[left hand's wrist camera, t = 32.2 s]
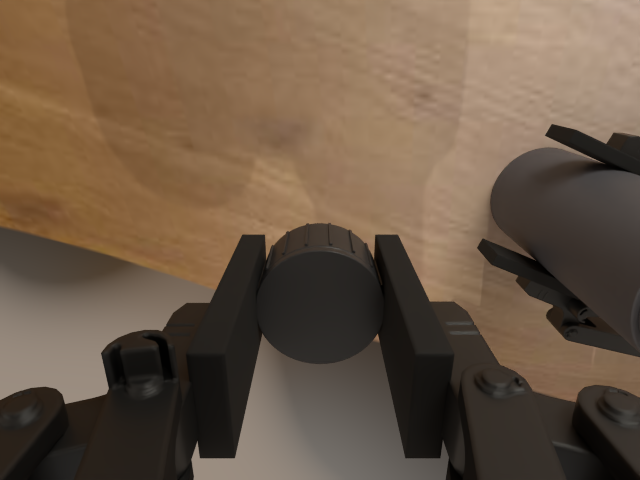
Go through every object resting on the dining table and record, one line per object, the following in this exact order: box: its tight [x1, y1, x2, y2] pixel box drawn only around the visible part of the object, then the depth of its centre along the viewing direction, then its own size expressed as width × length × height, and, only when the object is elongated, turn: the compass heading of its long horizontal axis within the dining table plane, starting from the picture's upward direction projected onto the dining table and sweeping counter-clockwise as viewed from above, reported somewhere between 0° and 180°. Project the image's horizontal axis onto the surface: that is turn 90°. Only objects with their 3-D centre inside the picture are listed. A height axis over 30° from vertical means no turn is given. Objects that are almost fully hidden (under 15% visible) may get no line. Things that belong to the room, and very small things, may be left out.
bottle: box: [491, 148, 640, 352], centre depth 24 cm, size 8×8×21 cm
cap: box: [256, 223, 384, 364], centre depth 14 cm, size 4×4×2 cm
